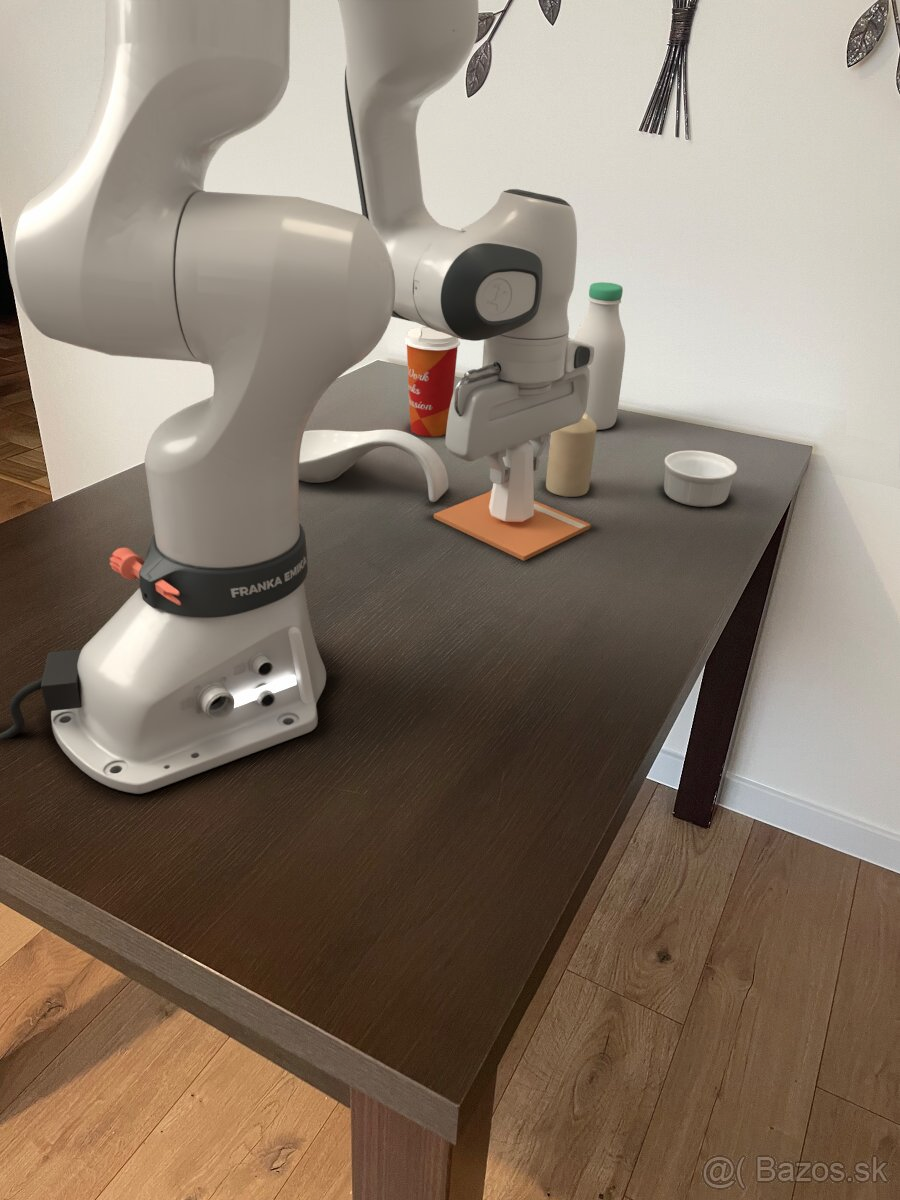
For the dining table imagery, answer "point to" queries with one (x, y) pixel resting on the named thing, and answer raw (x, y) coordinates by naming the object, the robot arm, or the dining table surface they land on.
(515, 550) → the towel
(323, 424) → the dining table surface
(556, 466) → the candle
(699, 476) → the ramekin
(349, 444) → the spoon rest
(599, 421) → the milk bottle
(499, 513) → the pepper shaker
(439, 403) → the paper cup
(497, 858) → the dining table surface
